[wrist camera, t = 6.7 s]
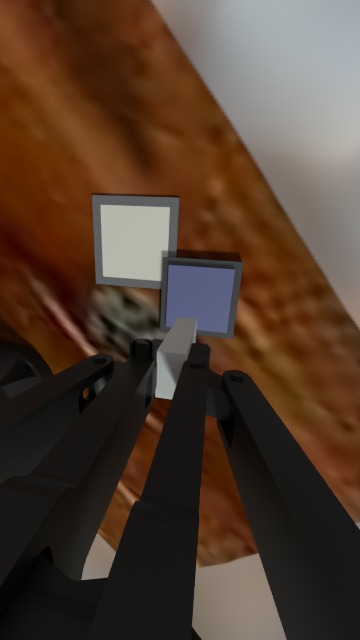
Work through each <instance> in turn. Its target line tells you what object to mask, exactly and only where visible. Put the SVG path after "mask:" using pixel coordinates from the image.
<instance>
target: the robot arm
mask: <svg viewBox="0 0 360 640" xmlns="http://www.w3.org/2000/svg"><path fill="white" fill-rule="evenodd" d="M196 327H197V319H194V318H184V317H178V318H177V320H176V321H175V323H174V324H173V326H172V328H171V329H170V331H169V332H168V334H167V336H166V337H165V339H164V340H160V339H153V340H149V339H136V340H132V341H131V342H130V357H129V358H128V359H127V361H126V362H122V363H114V358H113V357H112V356H111V355H108V354H97V355H93V356H90V357H88V358H86V359H85V360H83V361H81V362H79V363H77V364H75V365H73V366H71V367H69V368H67V369H65V370H64V371H62V372H60V373H58V374H56V375H54V376H52V374H51V371H50V370H49V368H48V366H47V365H46V364H45V362H44V361H43V360H42V359H41V358H40V357H39V356H38V355H37V354H35V353H34V352H33V351H31V350H30V349H28V348H26V347H23V346H21V345H17V344H11V343H6V344H0V640H202V639H201V638H200V637H199V635H198V634H197V633H196V632H195V630H194V629H193V627H192V616H193V600H194V587H195V572H196V557H197V543H198V528H199V501H200V487H201V473H202V459H203V445H204V431H205V418H206V414H207V415H209V416H212V417H214V418H217V426H218V429H219V432H220V435H221V438H222V441H223V444H224V447H225V450H226V453H227V457H228V460H229V463H230V466H231V469H232V472H233V475H234V478H235V481H236V484H237V487H238V490H239V494H240V497H241V500H242V503H243V506H244V509H245V512H246V515H247V518H248V521H249V524H250V527H251V531H252V534H253V537H254V540H255V543H256V546H257V549H258V552H259V555H260V558H261V561H262V564H263V568H264V571H265V574H266V577H267V580H268V583H269V586H270V589H271V592H272V595H273V598H274V601H275V605H276V607H277V610H278V614H279V617H280V620H281V623H282V626H283V629H284V632H285V635H286V638H287V640H360V530H359V528H358V527H357V525H356V524H355V523H354V521H353V520H352V518H351V517H350V516H349V514H348V513H347V511H346V510H345V509H344V507H343V506H342V504H341V503H340V502H339V500H338V499H337V497H336V496H335V495H334V493H333V492H332V490H331V489H330V488H329V486H328V485H327V483H326V482H325V481H324V479H323V478H322V476H321V475H320V474H319V472H318V471H317V469H316V468H315V467H314V465H313V464H312V462H311V461H310V460H309V458H308V457H307V455H306V454H305V453H304V451H303V450H302V448H301V447H300V446H299V444H298V443H297V441H296V440H295V439H294V437H293V436H292V434H291V433H290V432H289V430H288V429H287V427H286V426H285V425H284V423H283V422H282V420H281V419H280V418H279V416H278V415H277V413H276V412H275V411H274V409H273V408H272V406H271V405H270V404H269V402H268V401H267V399H266V398H265V397H264V395H263V394H262V393H261V391H260V390H259V388H258V387H257V386H256V384H255V383H254V381H253V380H252V379H251V377H250V376H249V375H248V374H246V373H244V372H242V371H239V370H228V371H225V372H224V373H223V376H221V375H218V374H216V373H214V372H212V371H211V370H210V368H209V357H210V347H209V346H208V345H207V344H199V343H195V338H196ZM87 387H88V396H87V397H85V398H83V390H84V389H86V388H87ZM155 389H156V394H155V397H159V398H165V399H172V401H171V404H170V407H169V410H168V413H167V416H166V420H165V423H164V426H163V429H162V432H161V435H160V439H159V442H158V445H157V448H156V451H155V455H154V458H153V461H152V464H151V467H150V470H149V474H148V477H147V480H146V483H145V486H144V489H143V493H142V495H141V498H140V500H139V501H135V503H134V505H133V506H132V509H131V511H130V514H129V517H128V520H127V523H126V526H125V528H124V531H123V534H122V537H121V540H120V543H119V546H118V549H117V552H116V555H115V558H114V561H113V564H112V567H111V570H110V573H109V576H108V578H99V579H91V580H81V578H82V572H83V568H84V564H85V561H86V558H87V555H88V553H89V550H90V548H91V545H92V543H93V541H94V539H95V536H96V534H97V532H98V529H99V527H100V525H101V522H102V520H103V518H104V515H105V513H106V511H107V508H108V506H109V504H110V501H111V499H112V497H113V494H114V492H115V490H116V487H117V485H118V483H119V480H120V478H121V476H122V473H123V471H124V469H125V466H126V464H127V462H128V459H129V457H130V455H131V452H132V450H133V448H134V445H135V443H136V441H137V438H138V436H139V434H140V431H141V429H142V427H143V424H144V422H145V420H146V417H147V415H148V413H149V410H150V408H151V406H152V403H153V394H154V391H155Z"/></svg>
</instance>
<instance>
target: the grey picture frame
mask: <svg viewBox="0 0 360 640" xmlns="http://www.w3.org/2000/svg"><path fill="white" fill-rule="evenodd" d="M179 199H180V198H173V197H141V196H109V195H92V204H93V226H94V248H95V270H96V284H107V285H118V286H130V287H142V288H153V289H162V269H163V257H174V258H176V254H177V236H178V217H179Z"/></svg>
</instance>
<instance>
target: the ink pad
mask: <svg viewBox="0 0 360 640" xmlns="http://www.w3.org/2000/svg"><path fill="white" fill-rule="evenodd" d="M242 267H243V262H235V261H220V260H205V259H190V258H174V257H163V269H162V295H161V321H160V331H166V332H169V331H170V329H171V328H172V326H173V324H174V323H175V321H176V320H177V318H178V317H184V318H194V319H197V327H196V335H203V336H212V337H221V338H230V339H233V333H234V325H235V318H236V311H237V304H238V296H239V289H240V282H241V275H242Z"/></svg>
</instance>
